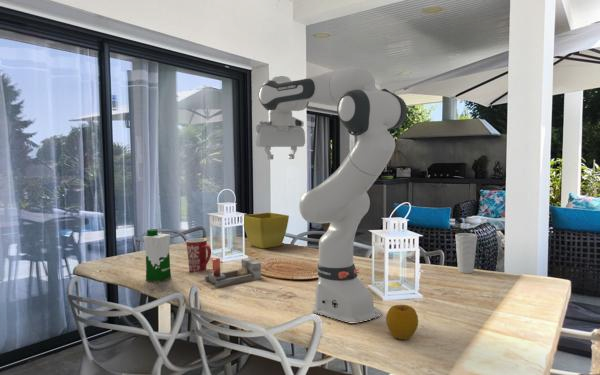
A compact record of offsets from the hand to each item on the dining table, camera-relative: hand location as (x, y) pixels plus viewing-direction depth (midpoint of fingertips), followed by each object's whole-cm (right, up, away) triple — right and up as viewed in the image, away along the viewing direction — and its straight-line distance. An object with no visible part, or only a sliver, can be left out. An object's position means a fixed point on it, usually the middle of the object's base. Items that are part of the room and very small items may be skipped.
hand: (281, 159), depth 163 cm
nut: (-16, -46, +9) cm, 50 cm away
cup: (+76, -46, +18) cm, 90 cm away
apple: (+34, -51, -46) cm, 77 cm away
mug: (-36, -47, +25) cm, 64 cm away
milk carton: (-51, -48, +15) cm, 71 cm away
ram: (-25, -47, +3) cm, 53 cm away
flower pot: (-12, -43, +77) cm, 88 cm away
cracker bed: (-20, -48, +6) cm, 52 cm away
